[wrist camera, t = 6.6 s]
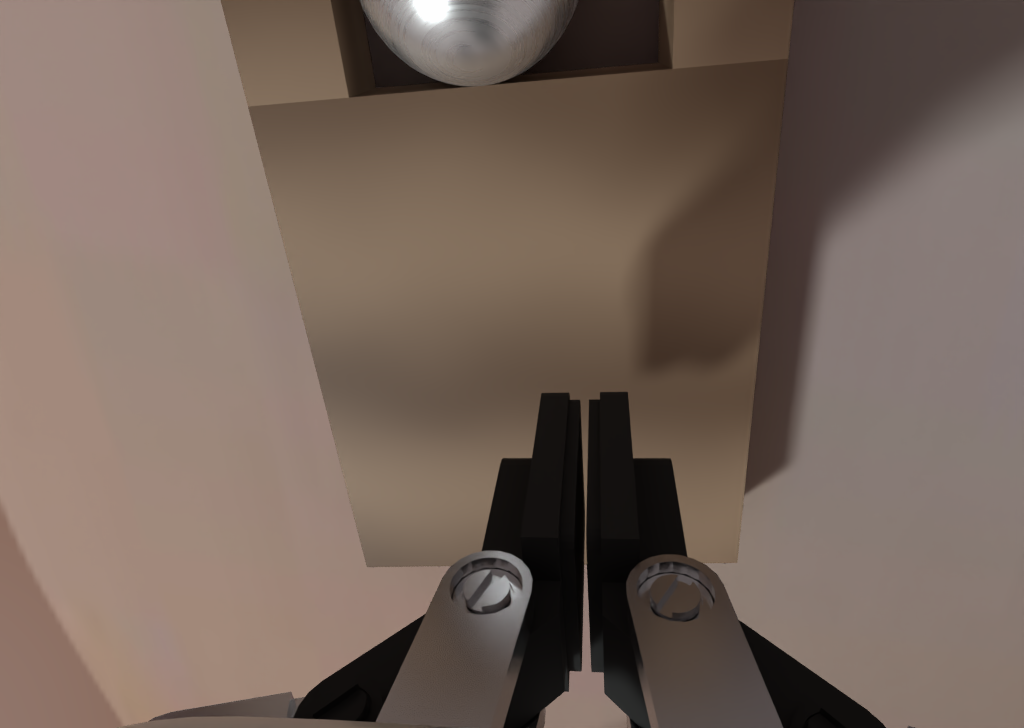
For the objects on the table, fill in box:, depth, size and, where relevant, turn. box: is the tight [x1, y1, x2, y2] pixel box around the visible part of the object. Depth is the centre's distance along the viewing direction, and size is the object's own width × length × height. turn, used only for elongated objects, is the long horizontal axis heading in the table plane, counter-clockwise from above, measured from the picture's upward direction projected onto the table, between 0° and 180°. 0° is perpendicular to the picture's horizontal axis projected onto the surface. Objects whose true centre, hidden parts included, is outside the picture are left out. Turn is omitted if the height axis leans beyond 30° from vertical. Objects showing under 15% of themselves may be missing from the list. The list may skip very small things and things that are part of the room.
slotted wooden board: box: [221, 0, 794, 567], centre depth 14 cm, size 20×10×2 cm, turn 5°
